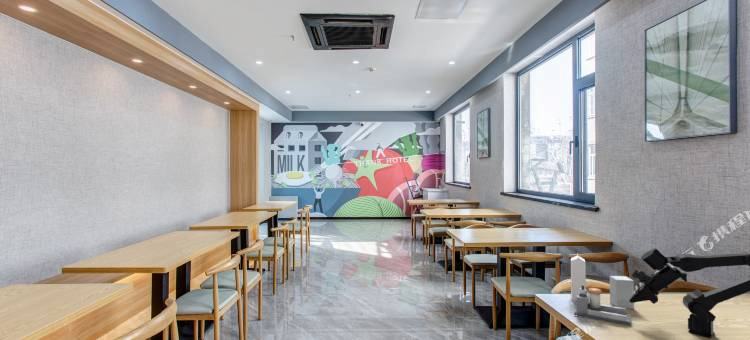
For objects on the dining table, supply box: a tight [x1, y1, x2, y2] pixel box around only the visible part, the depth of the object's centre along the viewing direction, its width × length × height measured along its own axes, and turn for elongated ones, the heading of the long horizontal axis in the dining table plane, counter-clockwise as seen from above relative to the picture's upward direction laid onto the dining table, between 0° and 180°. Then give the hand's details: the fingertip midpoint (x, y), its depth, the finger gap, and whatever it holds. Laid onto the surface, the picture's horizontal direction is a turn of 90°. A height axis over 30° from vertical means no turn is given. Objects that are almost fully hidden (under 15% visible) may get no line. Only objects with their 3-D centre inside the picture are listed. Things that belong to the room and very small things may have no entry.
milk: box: [570, 252, 587, 302], centre depth 179 cm, size 6×6×22 cm
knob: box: [587, 287, 602, 311], centre depth 158 cm, size 5×6×9 cm
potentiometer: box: [579, 285, 588, 296], centre depth 161 cm, size 3×3×4 cm
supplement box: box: [609, 275, 635, 309], centre depth 170 cm, size 7×7×13 cm
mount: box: [573, 291, 632, 327], centre depth 157 cm, size 20×10×8 cm, turn 57°
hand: (630, 301), depth 152 cm, fingers closed
